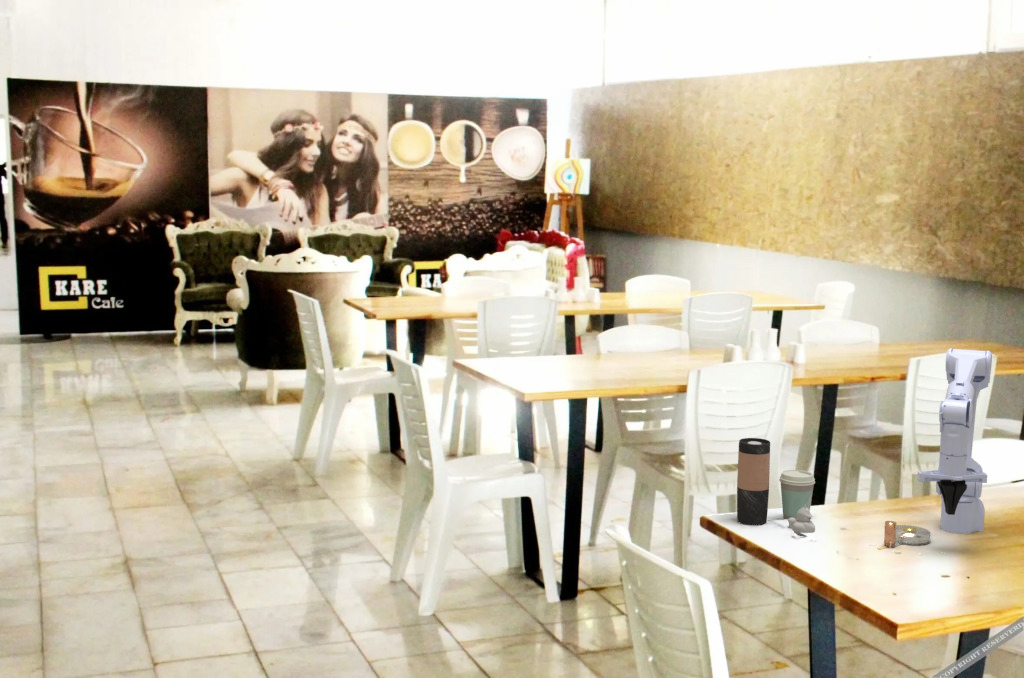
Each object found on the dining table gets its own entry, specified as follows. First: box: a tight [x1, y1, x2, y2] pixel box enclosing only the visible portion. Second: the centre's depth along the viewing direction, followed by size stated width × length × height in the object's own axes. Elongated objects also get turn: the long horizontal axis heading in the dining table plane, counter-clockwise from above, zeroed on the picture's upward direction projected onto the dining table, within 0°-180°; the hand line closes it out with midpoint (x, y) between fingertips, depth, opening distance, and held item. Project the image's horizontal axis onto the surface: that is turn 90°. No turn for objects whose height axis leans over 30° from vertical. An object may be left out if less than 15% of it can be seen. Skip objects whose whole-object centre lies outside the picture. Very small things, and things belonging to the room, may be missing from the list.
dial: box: [883, 520, 932, 549], centre depth 267 cm, size 14×9×6 cm, turn 130°
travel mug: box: [736, 437, 771, 526], centre depth 287 cm, size 8×8×20 cm
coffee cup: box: [778, 469, 816, 520], centre depth 287 cm, size 8×9×12 cm
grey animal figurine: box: [787, 504, 816, 538], centre depth 276 cm, size 5×7×8 cm
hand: (950, 513), depth 261 cm, fingers closed
